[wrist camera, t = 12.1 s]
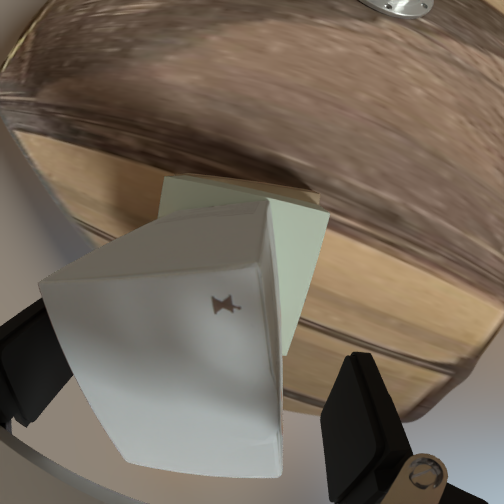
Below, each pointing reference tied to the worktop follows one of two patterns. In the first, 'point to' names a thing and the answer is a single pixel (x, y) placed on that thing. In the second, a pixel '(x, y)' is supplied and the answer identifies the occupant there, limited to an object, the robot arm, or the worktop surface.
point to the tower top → (285, 231)
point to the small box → (181, 340)
